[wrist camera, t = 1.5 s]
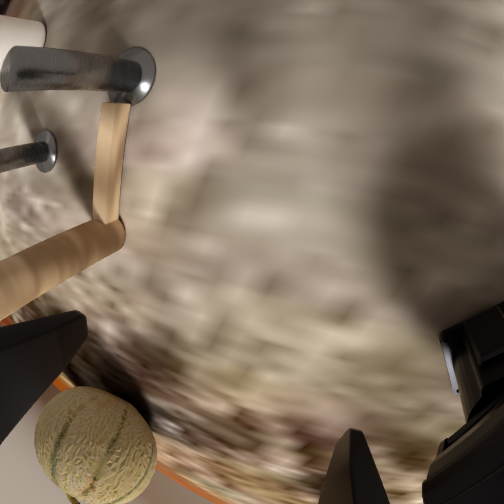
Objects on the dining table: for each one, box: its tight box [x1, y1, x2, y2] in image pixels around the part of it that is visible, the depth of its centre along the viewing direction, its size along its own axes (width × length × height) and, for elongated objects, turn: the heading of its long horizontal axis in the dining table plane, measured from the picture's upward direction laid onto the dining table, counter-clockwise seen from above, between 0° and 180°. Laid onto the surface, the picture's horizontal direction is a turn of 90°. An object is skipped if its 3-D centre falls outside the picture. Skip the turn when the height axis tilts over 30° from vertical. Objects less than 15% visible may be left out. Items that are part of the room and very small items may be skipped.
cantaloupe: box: [34, 386, 157, 504], centre depth 26 cm, size 15×15×15 cm
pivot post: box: [0, 46, 156, 106], centre depth 14 cm, size 4×4×10 cm
